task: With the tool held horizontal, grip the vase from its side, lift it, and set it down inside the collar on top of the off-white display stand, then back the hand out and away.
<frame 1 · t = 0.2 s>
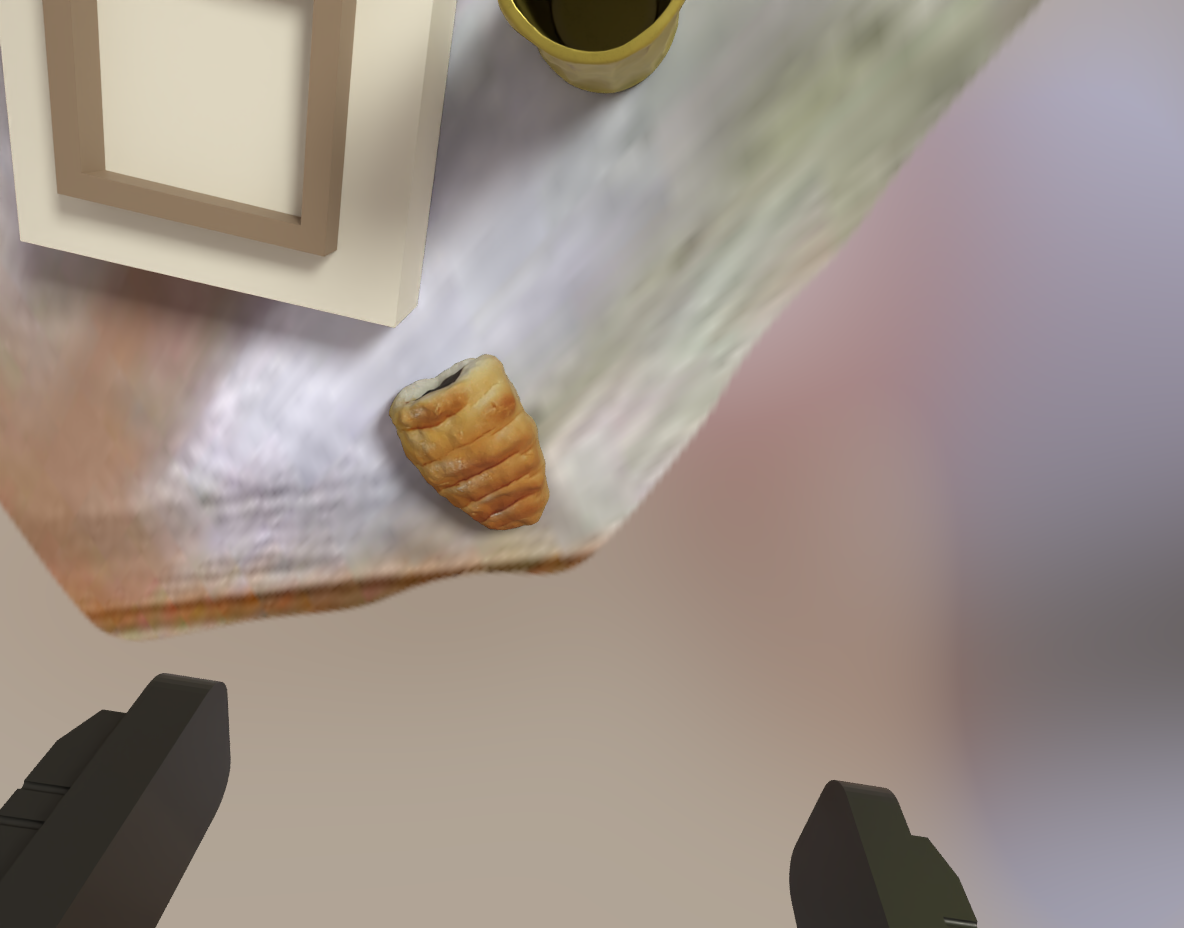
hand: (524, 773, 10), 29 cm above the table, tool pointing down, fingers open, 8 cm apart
pastry: (482, 428, 40), on the table
display stand: (257, 84, 32), on the table
vase: (604, 10, 31), on the table
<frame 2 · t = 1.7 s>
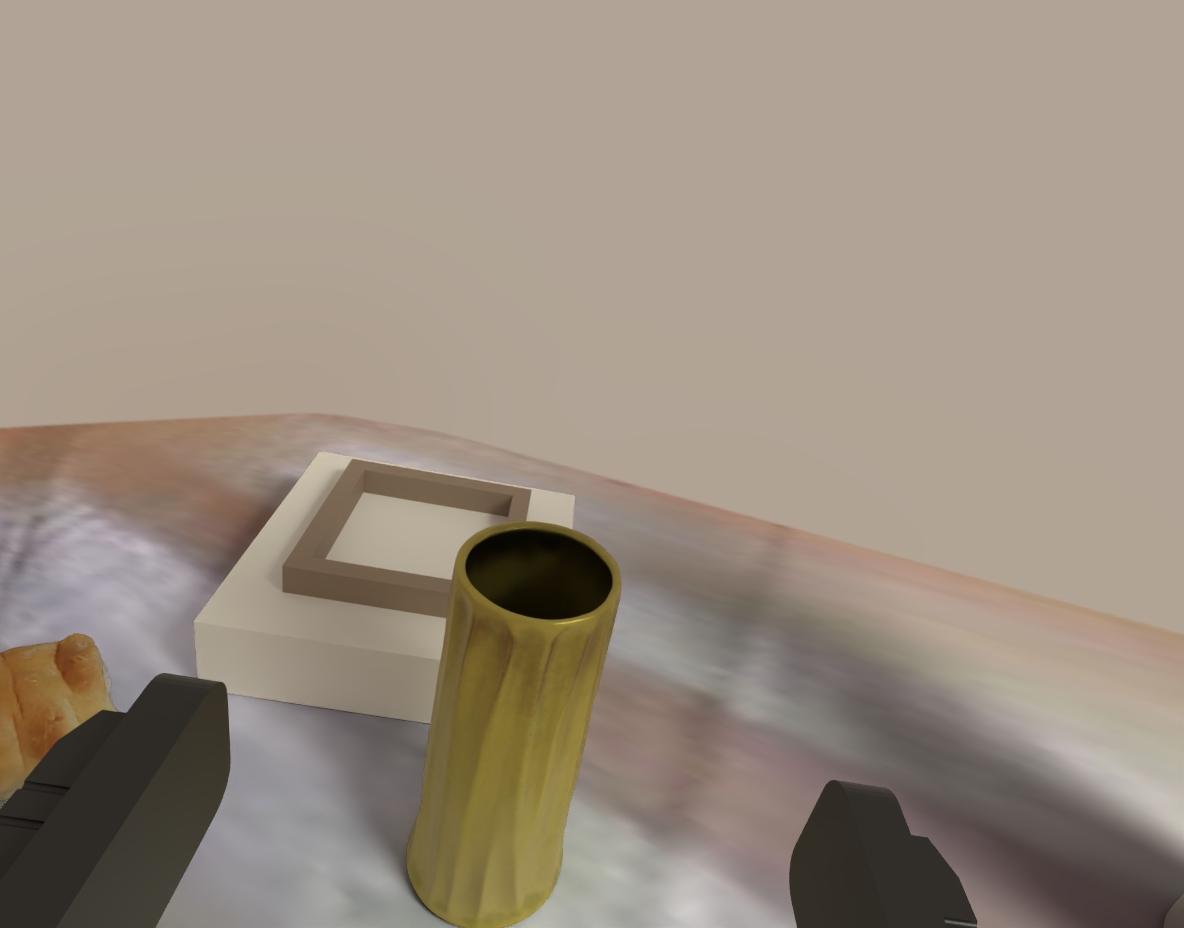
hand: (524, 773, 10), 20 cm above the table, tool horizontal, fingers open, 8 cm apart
pastry: (6, 754, 30), on the table
display stand: (414, 605, 42), on the table
vase: (484, 857, 30), on the table
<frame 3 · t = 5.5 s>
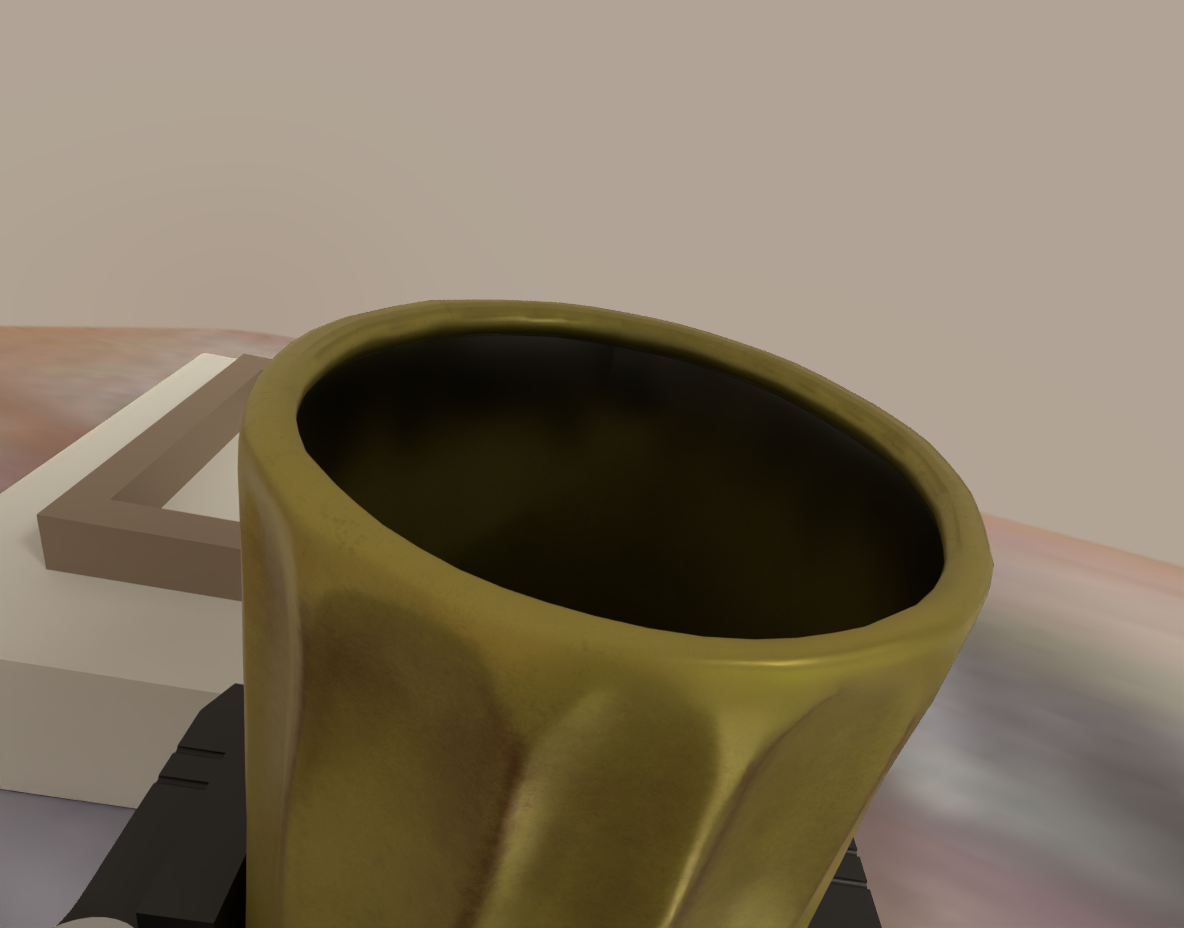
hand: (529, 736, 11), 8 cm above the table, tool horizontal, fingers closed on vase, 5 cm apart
display stand: (342, 600, 24), on the table
when the fingers open (13 cm above the table, at t = 10.9 s): vase drops 1 cm, resting on display stand.
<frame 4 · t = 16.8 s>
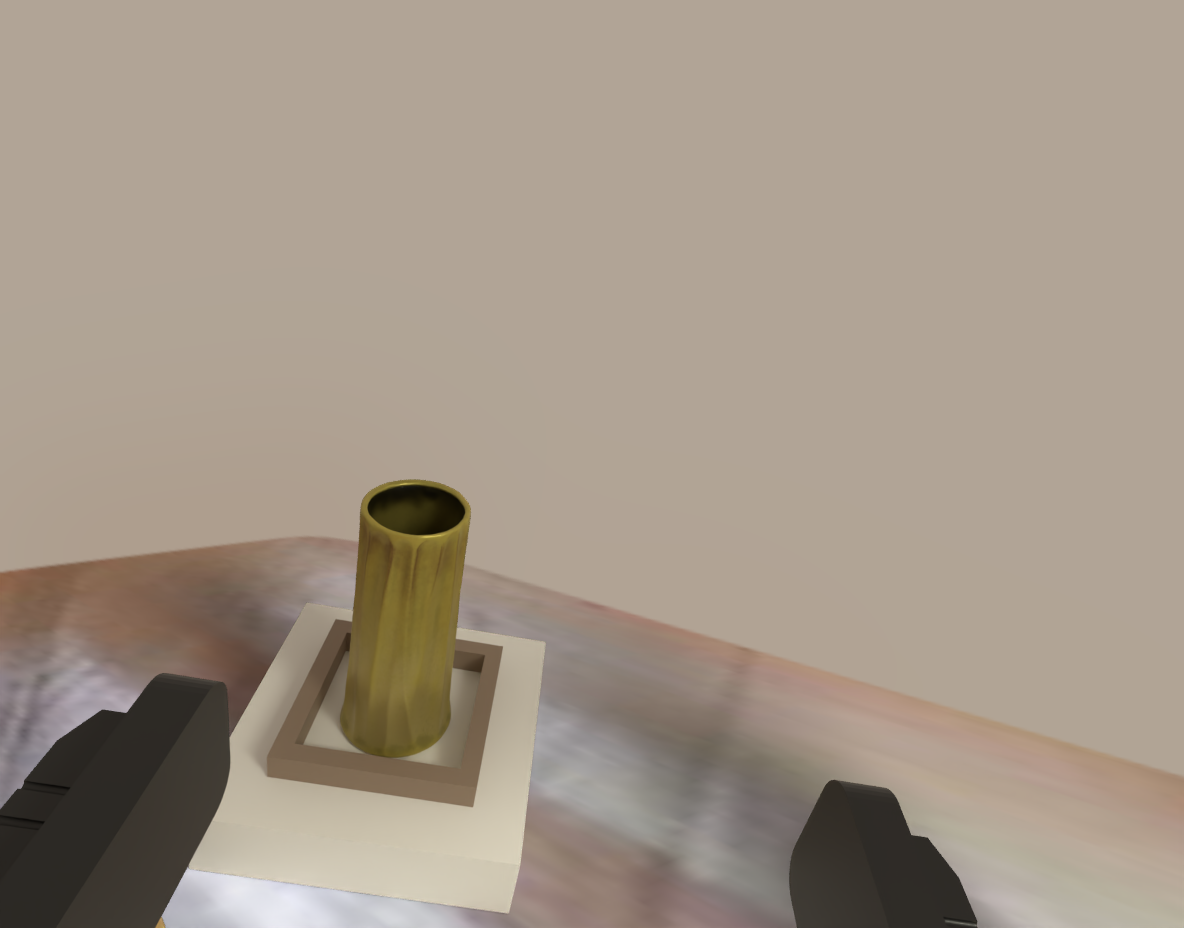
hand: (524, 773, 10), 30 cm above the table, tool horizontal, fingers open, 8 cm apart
display stand: (392, 761, 45), on the table
vase: (396, 718, 43), point 4 cm above the table, touching display stand
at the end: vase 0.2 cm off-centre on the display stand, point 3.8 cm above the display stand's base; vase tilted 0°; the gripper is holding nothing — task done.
